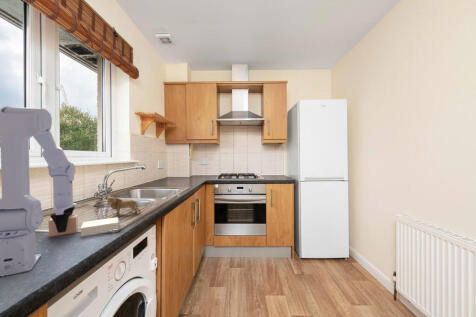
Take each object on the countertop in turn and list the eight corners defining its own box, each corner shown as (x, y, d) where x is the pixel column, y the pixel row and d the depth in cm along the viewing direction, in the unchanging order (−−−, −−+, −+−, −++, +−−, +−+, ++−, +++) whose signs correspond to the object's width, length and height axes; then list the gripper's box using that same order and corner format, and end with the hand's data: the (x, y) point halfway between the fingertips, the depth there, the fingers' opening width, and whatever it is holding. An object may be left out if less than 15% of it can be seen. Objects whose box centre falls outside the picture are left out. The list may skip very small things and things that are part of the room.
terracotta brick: (76, 232, 81) (75, 217, 81) (48, 237, 77) (48, 220, 77) (78, 229, 85) (77, 214, 85) (52, 232, 81) (51, 217, 81)
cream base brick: (118, 231, 83) (118, 222, 83) (80, 237, 77) (80, 228, 77) (118, 225, 90) (117, 217, 90) (83, 230, 84) (83, 222, 84)
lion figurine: (106, 217, 99) (106, 198, 99) (107, 214, 104) (107, 196, 104) (141, 213, 107) (140, 195, 106) (140, 210, 111) (140, 193, 111)
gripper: (73, 195, 76) (74, 232, 77) (79, 189, 89) (79, 221, 89) (47, 197, 73) (48, 236, 73) (57, 191, 85) (58, 224, 86)
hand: (64, 228), depth 81 cm, fingers open, 7 cm apart
